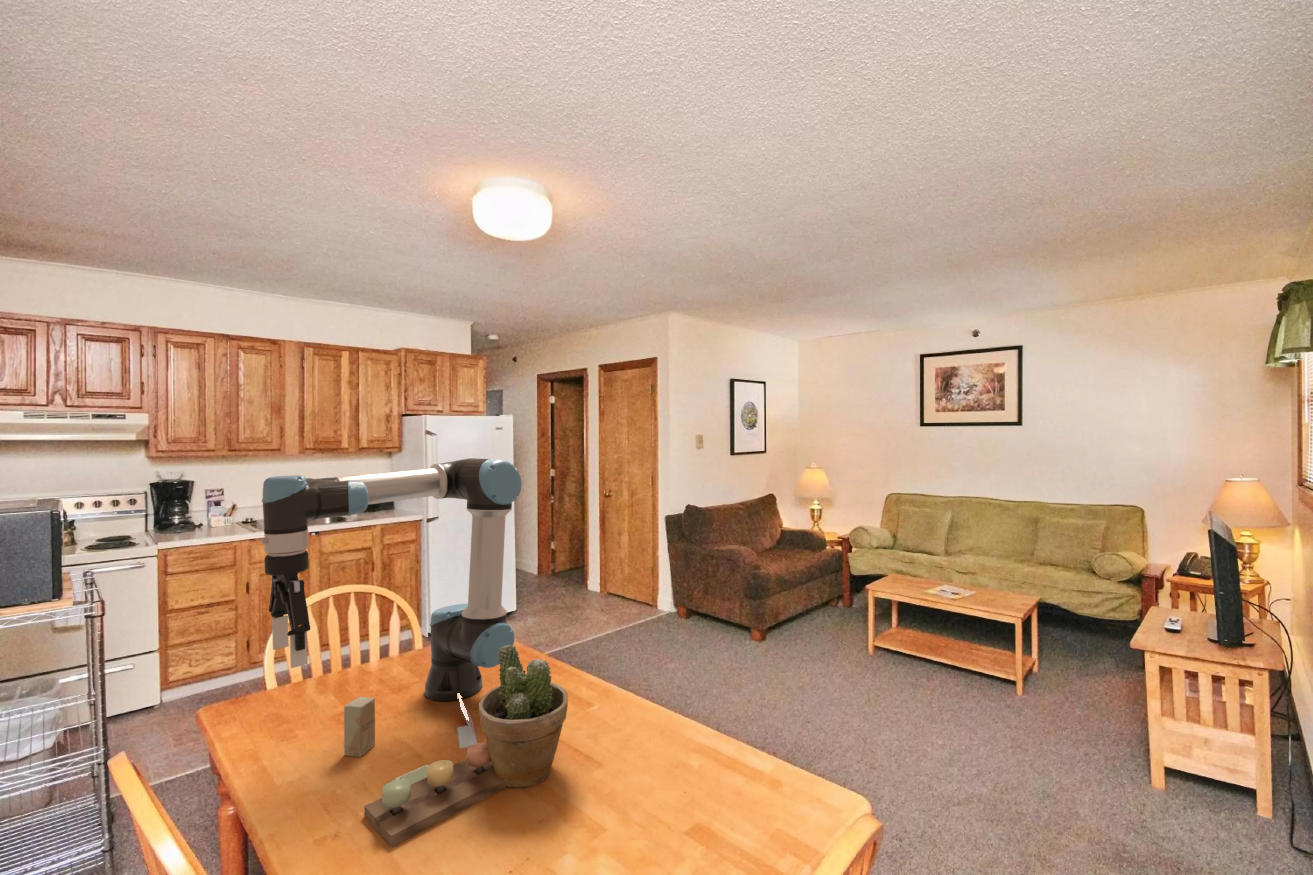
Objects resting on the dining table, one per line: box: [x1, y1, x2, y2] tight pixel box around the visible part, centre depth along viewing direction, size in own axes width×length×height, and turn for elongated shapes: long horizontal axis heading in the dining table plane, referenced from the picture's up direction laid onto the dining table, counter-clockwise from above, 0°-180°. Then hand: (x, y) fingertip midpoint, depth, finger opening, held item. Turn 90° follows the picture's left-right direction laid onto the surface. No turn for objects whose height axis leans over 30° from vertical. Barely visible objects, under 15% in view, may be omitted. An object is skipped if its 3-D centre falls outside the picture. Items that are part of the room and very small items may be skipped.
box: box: [343, 696, 376, 757], centre depth 132 cm, size 5×4×11 cm
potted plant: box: [478, 645, 569, 788], centre depth 122 cm, size 18×19×25 cm
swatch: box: [394, 763, 430, 785], centre depth 120 cm, size 7×7×1 cm
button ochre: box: [427, 759, 454, 792], centre depth 114 cm, size 5×5×5 cm
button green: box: [381, 779, 411, 814], centre depth 108 cm, size 5×5×5 cm
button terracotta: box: [466, 742, 491, 773], centre depth 120 cm, size 5×5×5 cm
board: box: [363, 758, 508, 848], centre depth 114 cm, size 24×12×2 cm, turn 137°
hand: (289, 656), depth 118 cm, fingers open, 13 cm apart
